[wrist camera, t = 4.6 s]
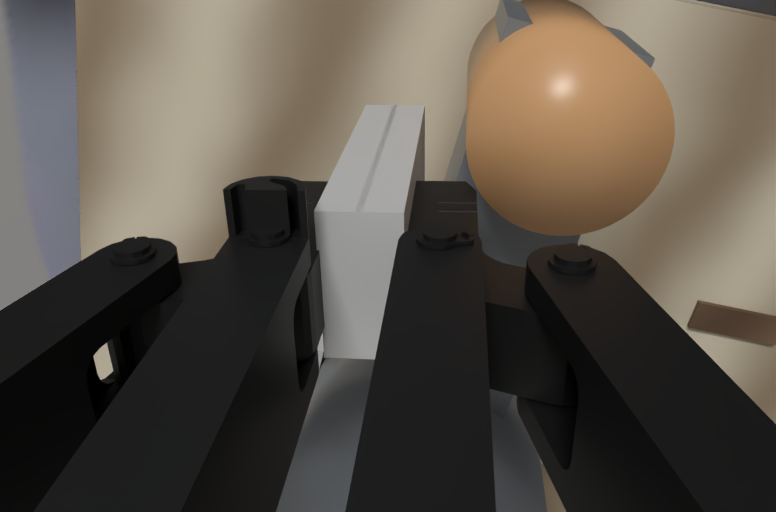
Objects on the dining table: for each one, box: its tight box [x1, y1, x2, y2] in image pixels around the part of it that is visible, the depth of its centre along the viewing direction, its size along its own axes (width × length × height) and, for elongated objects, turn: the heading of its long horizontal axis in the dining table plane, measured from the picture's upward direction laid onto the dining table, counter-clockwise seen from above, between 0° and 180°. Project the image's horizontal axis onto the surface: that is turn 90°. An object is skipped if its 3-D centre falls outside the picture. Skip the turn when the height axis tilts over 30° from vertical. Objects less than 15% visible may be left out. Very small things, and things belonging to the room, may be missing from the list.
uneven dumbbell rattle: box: [276, 0, 675, 512], centre depth 19 cm, size 10×16×7 cm, turn 166°
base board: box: [75, 0, 776, 512], centre depth 26 cm, size 26×26×4 cm
